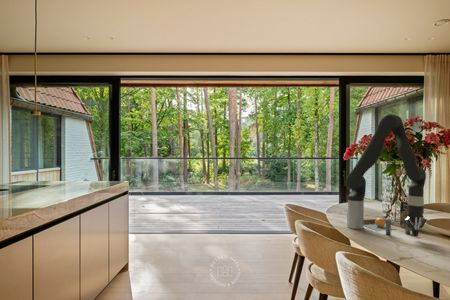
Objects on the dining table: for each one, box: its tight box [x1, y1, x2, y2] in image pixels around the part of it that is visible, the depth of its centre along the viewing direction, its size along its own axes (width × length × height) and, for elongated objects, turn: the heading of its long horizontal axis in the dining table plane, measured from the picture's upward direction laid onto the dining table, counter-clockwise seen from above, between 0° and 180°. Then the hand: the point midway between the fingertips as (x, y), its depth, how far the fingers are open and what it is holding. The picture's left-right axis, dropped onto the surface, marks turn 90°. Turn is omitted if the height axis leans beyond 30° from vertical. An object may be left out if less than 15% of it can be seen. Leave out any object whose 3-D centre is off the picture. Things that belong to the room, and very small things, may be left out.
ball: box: [375, 217, 386, 227], centre depth 206 cm, size 6×6×6 cm
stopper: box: [363, 218, 377, 225], centre depth 216 cm, size 2×18×2 cm, turn 102°
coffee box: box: [399, 200, 412, 230], centre depth 206 cm, size 9×6×16 cm
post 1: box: [385, 218, 392, 236], centre depth 188 cm, size 3×3×9 cm
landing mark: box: [363, 224, 397, 232], centre depth 206 cm, size 14×14×1 cm
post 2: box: [404, 218, 412, 235], centre depth 190 cm, size 3×3×9 cm
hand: (415, 236), depth 176 cm, fingers closed
